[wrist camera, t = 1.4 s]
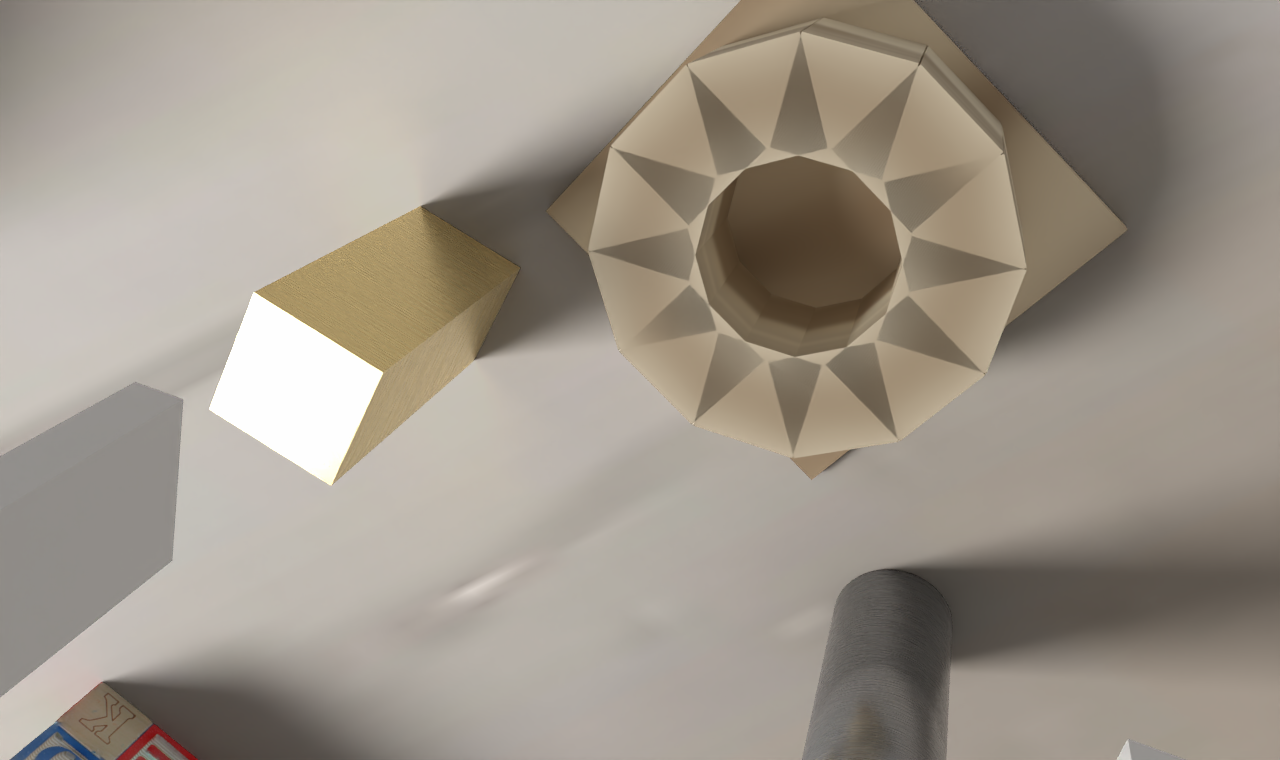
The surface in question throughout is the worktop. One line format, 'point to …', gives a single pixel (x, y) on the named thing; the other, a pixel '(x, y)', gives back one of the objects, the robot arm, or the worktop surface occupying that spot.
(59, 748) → the stack of blocks
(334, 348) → the square bit
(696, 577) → the worktop surface
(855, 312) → the socket block
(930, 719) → the cylinder
